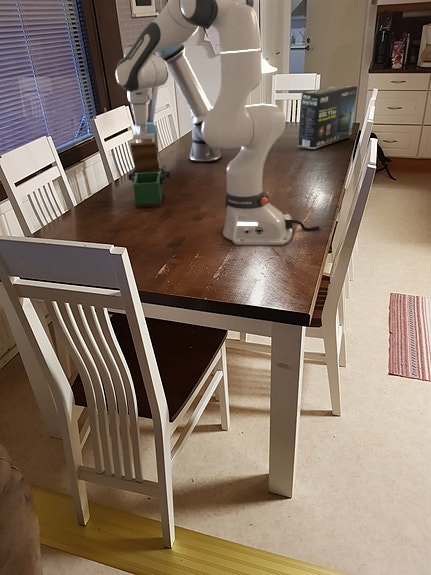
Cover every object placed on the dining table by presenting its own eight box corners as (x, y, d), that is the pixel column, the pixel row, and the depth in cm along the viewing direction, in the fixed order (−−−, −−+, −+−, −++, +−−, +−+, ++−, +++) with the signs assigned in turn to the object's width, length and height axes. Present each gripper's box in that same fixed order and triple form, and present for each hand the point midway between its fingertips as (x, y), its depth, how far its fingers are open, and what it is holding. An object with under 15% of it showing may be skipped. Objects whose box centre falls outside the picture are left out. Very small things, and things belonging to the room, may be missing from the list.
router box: (314, 151, 231) (318, 94, 217) (296, 148, 237) (299, 92, 224) (352, 138, 251) (358, 85, 238) (335, 135, 258) (340, 83, 245)
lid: (155, 143, 167) (155, 127, 171) (130, 145, 167) (130, 128, 171) (159, 171, 180) (159, 155, 184) (136, 172, 179) (136, 157, 183)
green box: (160, 206, 173) (158, 182, 169) (136, 207, 173) (133, 184, 168) (161, 193, 185) (159, 171, 180) (138, 195, 185) (136, 173, 180)
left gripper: (176, 172, 200) (177, 189, 181) (126, 175, 199) (121, 193, 180) (175, 155, 196) (175, 170, 177) (123, 158, 195) (118, 174, 176)
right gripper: (133, 89, 175) (137, 127, 183) (129, 99, 158) (133, 140, 165) (149, 89, 176) (153, 126, 183) (147, 98, 158) (151, 139, 166)
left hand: (148, 181), depth 178 cm, fingers closed on green box, 9 cm apart
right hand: (144, 133), depth 174 cm, fingers open, 4 cm apart
